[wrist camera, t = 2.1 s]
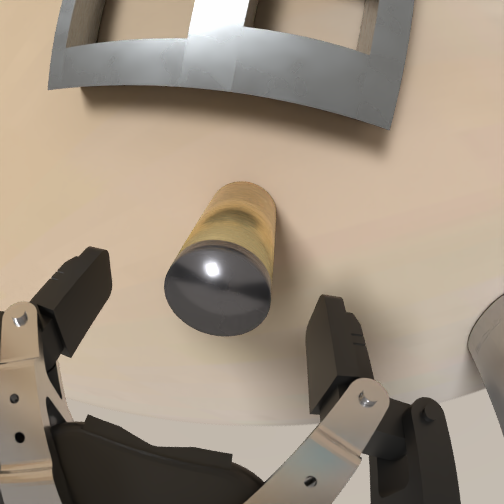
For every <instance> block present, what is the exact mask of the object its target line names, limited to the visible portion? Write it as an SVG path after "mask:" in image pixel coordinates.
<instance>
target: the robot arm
mask: <svg viewBox="0 0 504 504" xmlns="http://www.w3.org/2000/svg"><path fill="white" fill-rule="evenodd" d="M111 290H112V277H111V269H110V259H109V253H108V251H107V250H104V249H99V248H95V247H91V246H90V247H88V248H86V249H85V250H84V251H83V253H82V254H81V255H80V256H79V257H77V256H76V257H74V258H72V259H70V260H68V261H67V262H65V263H64V264H63V265H62V266H61V267H60V268H59V269H58V272H56V273H55V274H54V275H53V276H52V278H51V279H49V280H48V281H47V282H46V284H45V285H44V286H43V287H42V288H41V289H40V290H39V292H38V293H37V294H36V295H35V296H34V297H33V298H32V300H31V301H30V302H18V303H15V304H13V305H11V306H10V307H9V308H8V309H7V310H6V311H5V312H3V311H0V504H332V502H333V501H334V500H335V498H336V497H337V496H338V495H339V493H340V492H341V490H342V489H343V488H344V486H345V485H346V484H347V482H348V481H349V480H350V478H351V477H352V475H353V474H354V472H355V471H356V469H357V468H358V466H359V464H360V462H361V460H362V458H361V457H360V454H361V453H363V454H367V455H369V464H370V491H371V504H461V502H460V493H459V486H458V480H457V472H456V466H455V461H454V455H453V450H452V446H451V440H450V436H449V432H448V427H447V423H446V419H445V415H444V412H443V410H442V408H441V406H440V405H439V404H438V403H437V402H436V401H434V400H433V399H431V398H427V397H422V398H419V399H417V400H416V401H415V402H414V403H413V404H412V405H410V404H407V403H403V402H400V401H397V400H394V399H391V398H389V395H388V392H387V391H386V389H385V388H384V387H383V386H382V385H381V384H380V383H379V382H377V381H375V380H374V377H373V372H372V368H371V364H370V360H369V356H368V352H367V348H366V346H365V340H364V337H363V333H362V329H361V325H360V323H359V322H358V320H357V319H356V317H355V316H354V315H353V313H347V312H346V310H345V306H344V302H343V299H342V298H341V297H335V296H329V295H323V294H322V295H321V296H320V297H319V300H318V302H317V304H316V307H315V309H314V312H313V314H312V316H311V319H310V321H309V324H308V326H307V331H306V354H307V369H308V387H309V408H310V414H319V415H320V423H319V424H318V426H317V427H316V428H315V429H314V430H313V432H312V433H311V434H310V435H309V436H308V437H307V439H306V440H305V441H304V442H303V443H302V444H301V445H300V446H299V447H298V449H297V450H296V451H295V452H294V453H293V454H292V455H291V456H290V457H289V458H288V459H287V460H286V462H284V464H283V465H281V467H279V469H278V470H276V471H275V472H274V473H273V474H272V475H271V476H270V477H269V478H268V479H267V480H266V481H265V482H263V481H262V480H261V479H260V478H259V477H257V476H256V475H255V474H254V473H253V472H251V471H249V470H248V469H246V468H244V467H242V466H240V465H238V464H236V463H233V462H232V454H229V453H223V452H217V451H211V450H206V449H201V448H196V447H157V446H152V445H150V444H148V443H147V442H145V441H143V440H141V439H140V438H138V437H136V436H135V435H133V434H131V433H130V432H128V431H126V430H125V429H123V428H122V427H120V426H117V425H114V424H112V423H109V422H106V421H103V420H101V419H98V418H95V417H93V416H91V415H88V416H87V418H86V420H85V422H74V421H73V418H72V416H71V413H70V411H69V409H68V406H67V402H66V398H65V393H64V389H63V384H62V378H61V373H60V367H59V362H58V360H57V359H58V357H59V356H60V354H63V355H65V356H67V357H70V358H71V357H72V356H73V354H74V352H75V351H76V349H77V347H78V346H79V344H80V342H81V341H82V339H83V337H84V336H85V334H86V332H87V331H88V329H89V328H90V326H91V324H92V323H93V321H94V320H95V318H96V317H97V315H98V314H99V312H100V310H101V309H102V307H103V306H104V304H105V303H106V301H107V300H108V298H109V296H110V294H111ZM468 349H469V351H470V353H471V355H472V357H473V360H474V362H475V364H476V366H477V368H478V370H479V373H480V375H481V377H482V380H483V382H484V385H485V387H486V389H487V392H488V394H489V397H490V399H491V402H492V405H493V407H494V410H495V412H496V415H497V418H498V420H499V423H500V427H501V429H502V433H503V436H504V295H503V296H501V297H500V298H499V299H497V300H496V301H495V302H494V303H493V304H492V305H491V306H490V307H489V308H488V309H487V310H486V311H485V312H484V313H483V315H482V316H481V317H480V319H479V320H478V321H477V323H476V325H475V326H474V328H473V330H472V332H471V334H470V337H469V341H468Z"/></svg>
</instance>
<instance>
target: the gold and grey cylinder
mask: <svg viewBox="0 0 504 504" xmlns="http://www.w3.org/2000/svg"><path fill="white" fill-rule="evenodd" d="M275 228H276V207H275V204H274V202H273V199H272V198H271V196H270V195H269V194H268V193H267V192H266V191H265V190H264V189H263V188H261V187H260V186H258V185H256V184H253V183H250V182H233V183H230V184H227V185H225V186H224V187H222V188H221V189H220V190H219V191H218V192H217V193H216V194H215V195H214V197H213V199H212V200H211V202H210V203H209V205H208V206H207V208H206V210H205V211H204V213H203V214H202V216H201V217H200V219H199V221H198V222H197V224H196V226H195V227H194V229H193V230H192V232H191V234H190V235H189V237H188V239H187V240H186V242H185V244H184V245H183V247H182V249H181V250H180V252H179V254H178V255H177V257H176V259H175V260H174V262H173V264H172V265H171V267H170V269H169V271H168V273H167V275H166V278H165V283H164V290H165V296H166V299H167V302H168V304H169V306H170V307H171V309H172V310H173V312H174V313H175V314H176V315H177V316H178V317H179V318H180V319H181V320H182V321H183V322H185V323H186V324H187V325H189V326H191V327H192V328H194V329H196V330H198V331H201V332H204V333H207V334H210V335H216V336H235V335H240V334H244V333H246V332H249V331H251V330H253V329H254V328H256V327H257V326H258V325H259V324H261V323H262V321H263V320H264V319H265V317H266V316H267V314H268V311H269V309H270V303H271V289H272V275H273V260H274V244H275Z"/></svg>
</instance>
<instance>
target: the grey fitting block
mask: <svg viewBox="0 0 504 504" xmlns="http://www.w3.org/2000/svg"><path fill="white" fill-rule="evenodd" d="M258 1H259V0H196V1H195V5H194V9H193V14H192V18H191V23H190V28H189V33H188V38H187V39H183V38H158V39H134V40H121V41H111V42H102V43H96V41H97V36H98V31H99V26H100V21H101V16H102V12H103V8H104V3H105V0H63V1H62V5H61V9H60V13H59V17H58V22H57V27H56V32H55V37H54V43H53V49H52V56H51V63H50V71H49V81H48V90H53V89H62V88H72V87H86V86H106V85H155V86H175V87H189V88H201V89H211V90H219V91H227V92H235V93H242V94H248V95H254V96H260V97H266V98H271V99H277V100H282V101H287V102H291V103H296V104H300V105H305V106H309V107H313V108H317V109H321V110H325V111H329V112H332V113H336V114H340V115H343V116H347V117H350V118H353V119H357V120H360V121H363V122H366V123H369V124H373V125H376V126H379V127H381V128H384V129H387V130H390V127H391V123H392V119H393V115H394V111H395V107H396V102H397V98H398V94H399V89H400V84H401V80H402V75H403V70H404V65H405V59H406V54H407V48H408V42H409V36H410V29H411V22H412V15H413V6H414V0H365V6H364V12H363V18H362V24H361V30H360V35H359V40H358V46H357V51H356V50H352V49H349V48H346V47H342V46H339V45H335V44H332V43H328V42H324V41H320V40H316V39H312V38H307V37H303V36H298V35H293V34H288V33H283V32H277V31H271V30H265V29H257V28H253V24H254V19H255V14H256V10H257V5H258Z"/></svg>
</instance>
